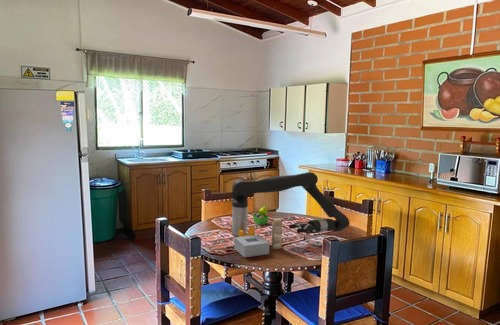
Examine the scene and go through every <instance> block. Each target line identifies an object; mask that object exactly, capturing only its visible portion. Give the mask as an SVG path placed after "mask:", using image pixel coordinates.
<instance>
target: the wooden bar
mask: <svg viewBox="0 0 500 325" xmlns="http://www.w3.org/2000/svg"><path fill="white" fill-rule="evenodd" d="M271 226H272V227H271V248H272V249H274V250H277V249H282V240H283V239H282V236H283V219H282V218H281V217H277V218H275V217H274V218H272V225H271Z"/></svg>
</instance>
